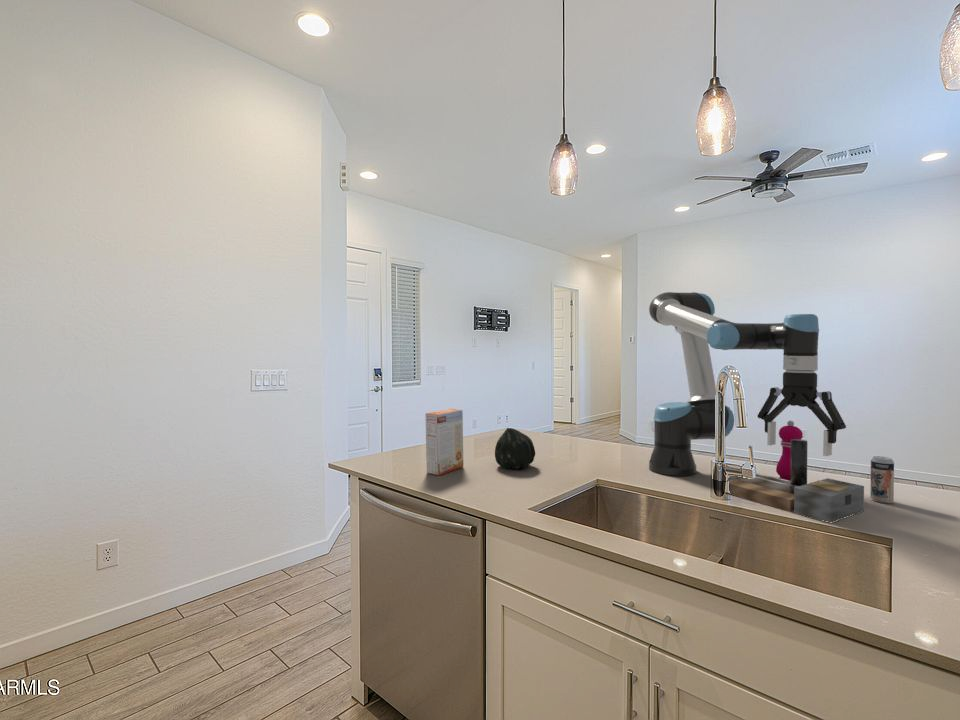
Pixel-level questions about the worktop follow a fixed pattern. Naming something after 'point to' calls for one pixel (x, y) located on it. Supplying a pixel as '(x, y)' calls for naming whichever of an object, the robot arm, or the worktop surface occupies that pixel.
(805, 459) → the black l-shaped bracket
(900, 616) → the worktop surface
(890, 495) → the beer can
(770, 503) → the brown grey flat block
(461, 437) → the cracker box
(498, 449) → the squash
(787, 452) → the pepper mill
